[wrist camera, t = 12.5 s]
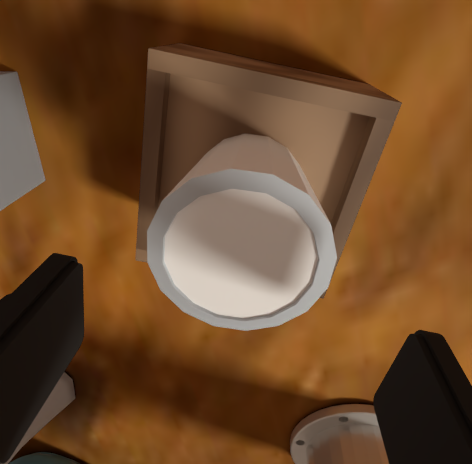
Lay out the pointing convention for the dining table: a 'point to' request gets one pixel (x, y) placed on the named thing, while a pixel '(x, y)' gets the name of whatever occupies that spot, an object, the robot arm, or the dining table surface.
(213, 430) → the dining table surface
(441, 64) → the dining table surface
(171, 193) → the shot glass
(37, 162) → the slate block
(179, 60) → the walnut tray
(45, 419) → the flask
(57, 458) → the casserole dish
